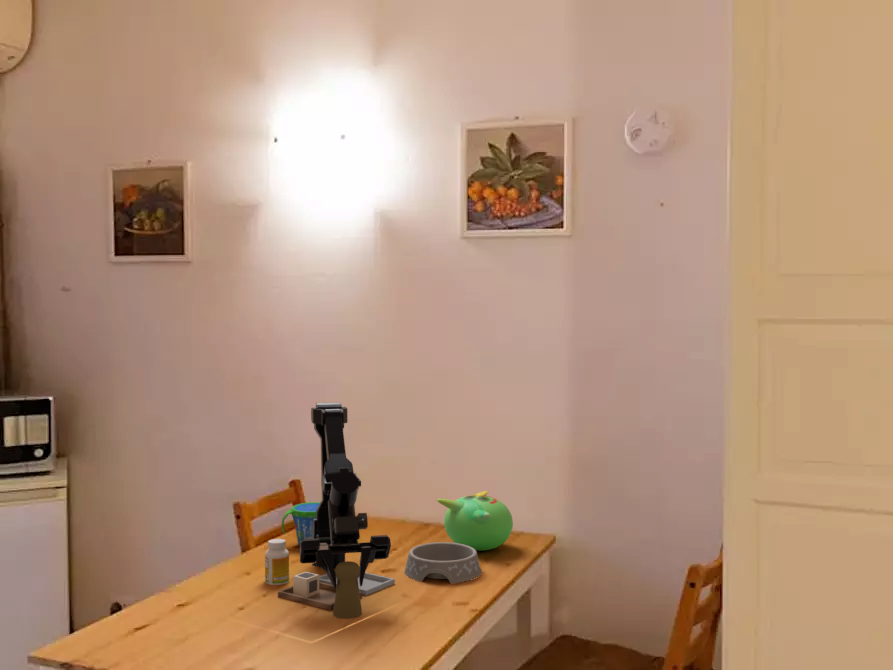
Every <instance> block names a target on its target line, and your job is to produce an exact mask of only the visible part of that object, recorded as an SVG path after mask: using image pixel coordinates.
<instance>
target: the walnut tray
mask: <svg viewBox="0 0 893 670" xmlns="http://www.w3.org/2000/svg"><path fill="white" fill-rule="evenodd" d="M336 588H337V586H336ZM336 588H334V586H333V585H330V584H326V583H322V582H319V593H317V594H315V595H312V596H310V597H307V598H306V597H303V596H299V595H295V594H293V585H292V586H289V587H287V588H284V589H280V590H277V597H278V598H282V599H286V600H289V601H292V602H297V603H301V604H305V605H308V606H311V607H316V608H319V609H323V610H327V611H330V612H331V611H334V603H335V596H336ZM359 594H360V599H362V598H363V595H362V592H359Z"/></svg>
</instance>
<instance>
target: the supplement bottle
mask: <svg viewBox="0 0 893 670" xmlns="http://www.w3.org/2000/svg"><path fill="white" fill-rule="evenodd" d="M286 545H287V542H286V539H283V538H272V539H270V540H268V542H267V548H268V549H267V550H266V551H265V553H264V577H265V578H264V580H265V581H264V583H265V584H268V585H272V586H277V585H278V586H279V585H285V584H288V583H289V581H290V552H289V550H288V549H287V548H286V547H287V546H286Z"/></svg>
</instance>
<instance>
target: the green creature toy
mask: <svg viewBox="0 0 893 670" xmlns="http://www.w3.org/2000/svg"><path fill="white" fill-rule="evenodd" d="M487 494H489V491H488V490H484V491H483V490H482V491H480V492H478V493H475V494H469V495H465V496H461V497H460V498H457V499H456V500H455V499H447V498H437V499H436V501H437V503H439V504H441V505H442V506H443V507H446V508H447V509H446V512H445V513H444V519H443V524H444V529H445V533H446V534H447V536H448V537H449V539H451V541H453V543H459V544H464V545H467V546H470V547H472V548H474V549H475V550H476V552H477V551H478V552H479V551H480V552H481V551H482V552H483V551H489V550H494V549H496V548H498V547H500V546H501V545H503V544H504V543H505V542H506V541H507V540H508V539H509V538H510V535H511V534H512V531H513V525H514V521H513V520H514V519H513V516H512V513H511V512H510V510H509V508H508V507H507V506H506V504H505V503H503V502H502V501H500V500H499V499H497V498H496V497H492V496H489V495H487Z"/></svg>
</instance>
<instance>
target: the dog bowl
mask: <svg viewBox="0 0 893 670" xmlns="http://www.w3.org/2000/svg"><path fill="white" fill-rule="evenodd" d="M479 561H480V560H479V556H478V552H477V551H476V550H475V549H474V548H472V547H470V546H467V545H464V544H459V543H455V542H449V541H447V542H445V541H443V542H441V541H436V542H435V541H434V542H428V543H421V544H418V545H415V546H414V547H412V548H411V549H410V550H409V551H408V554H407V560H406V564H405V568H404V572H403V573H404V575H405V576H406V577H407V576H408V578H409V579H411V578H412V579H411V580H413V579H414V580H413V581H418V582H420V581H421V583H422V582H423V581H424V579H425V578H430V579H433V580H434V579H435V580H437V579H438V580H448V581H449V584H450V583H454V584H460V583H459V582H462V583H465V582H464V581H467V582H470V581H472V580H471V579H473V580H475V579H474V578H476V577H478V576H479V575H480V574H481V575H482V568H481V566H480V562H479ZM481 575H480V576H481ZM480 576H479V577H480ZM479 577H478V578H479ZM476 579H477V578H476ZM469 580H470V581H469Z"/></svg>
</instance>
